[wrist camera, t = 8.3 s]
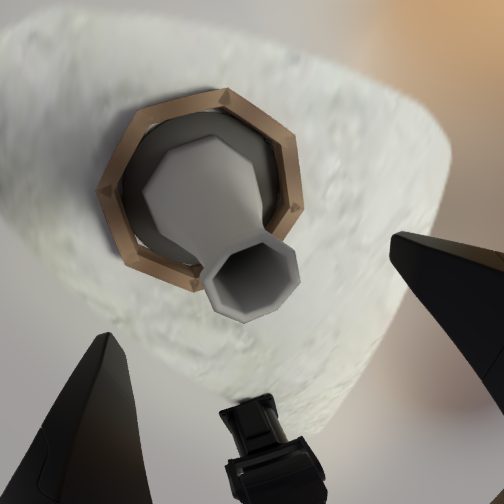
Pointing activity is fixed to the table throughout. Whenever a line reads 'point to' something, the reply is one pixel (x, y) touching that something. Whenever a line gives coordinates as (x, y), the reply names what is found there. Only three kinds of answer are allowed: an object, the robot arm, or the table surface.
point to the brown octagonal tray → (180, 133)
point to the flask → (222, 227)
